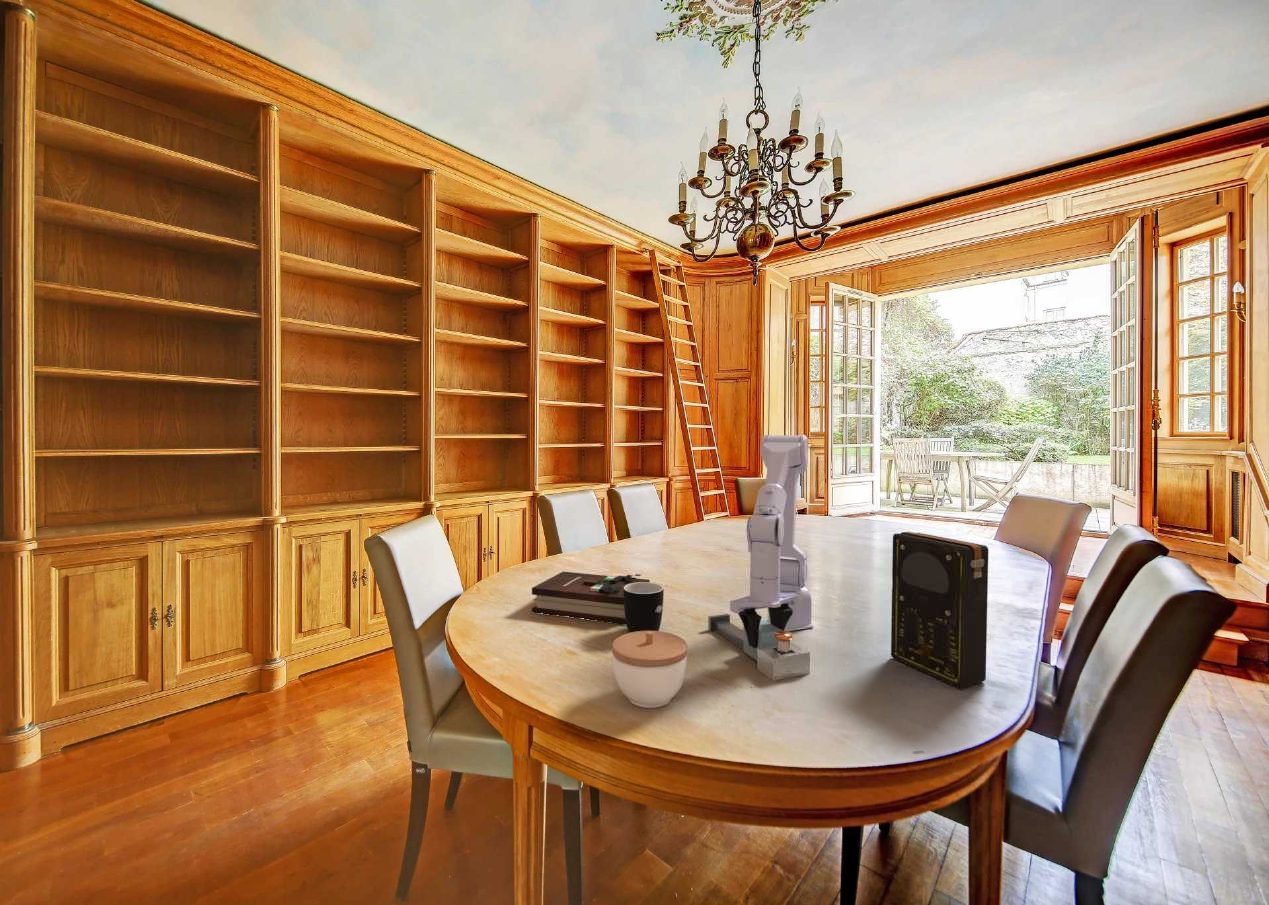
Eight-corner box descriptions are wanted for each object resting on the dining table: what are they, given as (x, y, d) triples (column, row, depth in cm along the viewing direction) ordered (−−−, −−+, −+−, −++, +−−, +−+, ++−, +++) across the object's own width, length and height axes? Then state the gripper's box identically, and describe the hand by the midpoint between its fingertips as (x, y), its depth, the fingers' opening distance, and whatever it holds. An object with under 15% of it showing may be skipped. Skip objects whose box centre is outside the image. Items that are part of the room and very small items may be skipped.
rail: (727, 626, 123) (727, 613, 123) (787, 665, 102) (787, 649, 102) (708, 629, 121) (708, 616, 121) (765, 669, 100) (765, 653, 100)
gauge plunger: (785, 656, 101) (785, 629, 101) (795, 662, 98) (796, 635, 98) (771, 658, 100) (771, 631, 100) (781, 665, 97) (781, 638, 97)
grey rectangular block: (792, 662, 103) (792, 642, 103) (809, 673, 99) (809, 652, 98) (757, 669, 100) (757, 648, 100) (773, 680, 96) (773, 658, 96)
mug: (659, 641, 114) (659, 594, 114) (618, 638, 116) (618, 591, 116) (668, 622, 126) (668, 579, 125) (631, 619, 128) (631, 577, 127)
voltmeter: (885, 658, 105) (886, 532, 105) (916, 651, 109) (918, 529, 108) (960, 693, 91) (963, 547, 90) (993, 684, 94) (996, 543, 94)
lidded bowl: (611, 681, 96) (610, 620, 95) (680, 679, 96) (680, 618, 96) (613, 718, 83) (613, 648, 83) (693, 715, 84) (693, 646, 84)
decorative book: (557, 566, 150) (659, 576, 140) (557, 593, 150) (659, 604, 140) (520, 584, 132) (635, 597, 122) (521, 615, 132) (635, 630, 122)
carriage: (763, 648, 109) (763, 620, 109) (781, 659, 104) (782, 630, 104) (743, 651, 108) (743, 623, 107) (760, 663, 102) (761, 633, 102)
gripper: (744, 584, 98) (744, 657, 99) (808, 577, 103) (808, 646, 104) (724, 575, 105) (724, 643, 105) (785, 568, 110) (785, 633, 110)
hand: (764, 644), depth 105 cm, fingers closed on carriage, 5 cm apart
